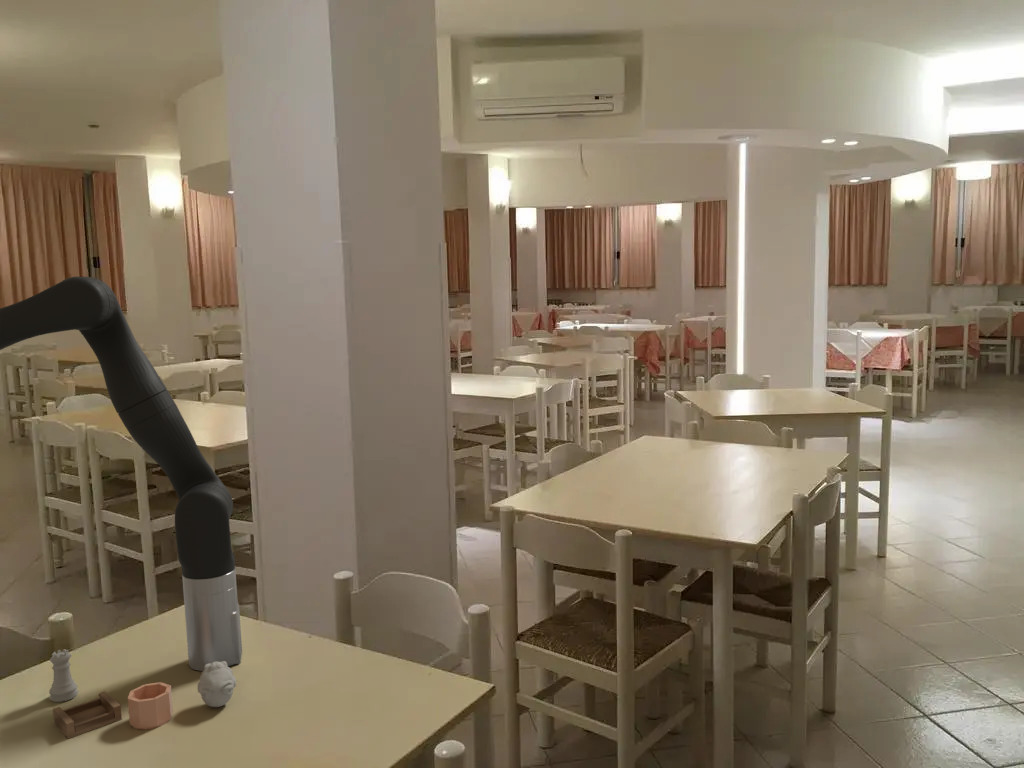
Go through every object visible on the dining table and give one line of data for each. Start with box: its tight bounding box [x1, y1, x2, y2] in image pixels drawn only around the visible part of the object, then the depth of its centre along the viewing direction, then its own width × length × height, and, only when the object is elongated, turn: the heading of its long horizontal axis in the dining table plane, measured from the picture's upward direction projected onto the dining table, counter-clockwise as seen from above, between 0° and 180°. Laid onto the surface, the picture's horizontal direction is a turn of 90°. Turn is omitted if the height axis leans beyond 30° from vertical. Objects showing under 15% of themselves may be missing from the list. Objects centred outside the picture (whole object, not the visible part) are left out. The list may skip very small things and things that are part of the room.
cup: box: [127, 681, 174, 730], centre depth 136 cm, size 6×6×5 cm
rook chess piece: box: [48, 648, 79, 703], centre depth 144 cm, size 4×4×8 cm
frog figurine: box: [197, 661, 237, 708], centre depth 140 cm, size 6×7×7 cm
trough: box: [52, 691, 123, 739], centre depth 136 cm, size 7×8×2 cm
